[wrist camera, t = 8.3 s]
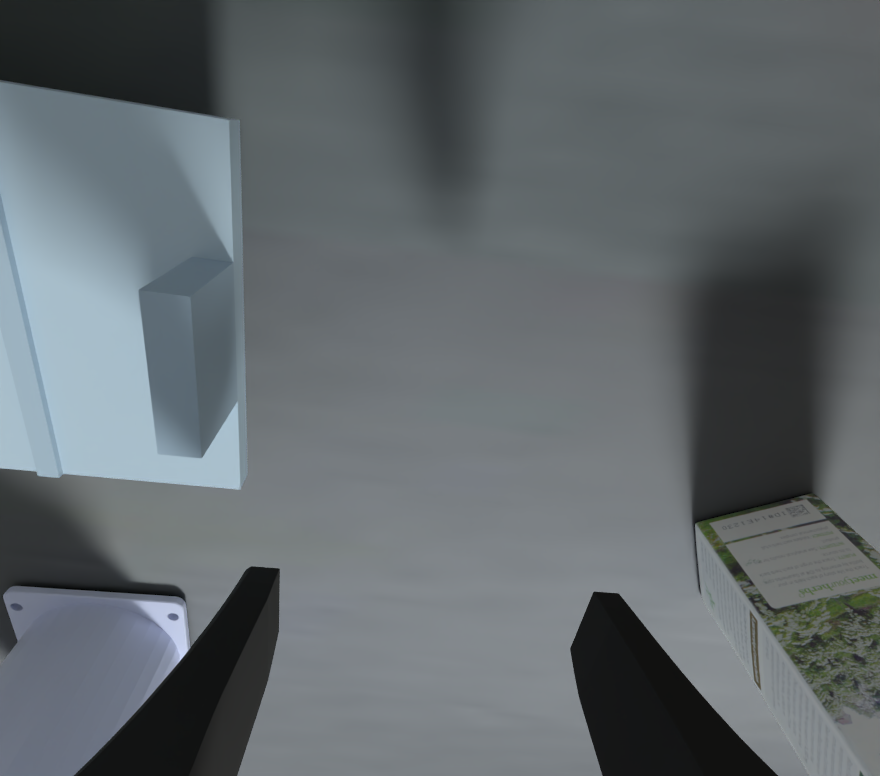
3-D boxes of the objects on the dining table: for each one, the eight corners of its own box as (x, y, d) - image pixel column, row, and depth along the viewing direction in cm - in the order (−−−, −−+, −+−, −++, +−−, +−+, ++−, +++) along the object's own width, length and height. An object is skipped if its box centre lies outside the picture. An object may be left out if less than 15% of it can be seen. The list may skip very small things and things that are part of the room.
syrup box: (697, 598, 27) (959, 1041, 14) (689, 516, 24) (1005, 970, 11) (810, 572, 26) (1190, 1006, 13) (814, 484, 24) (1296, 925, 11)
